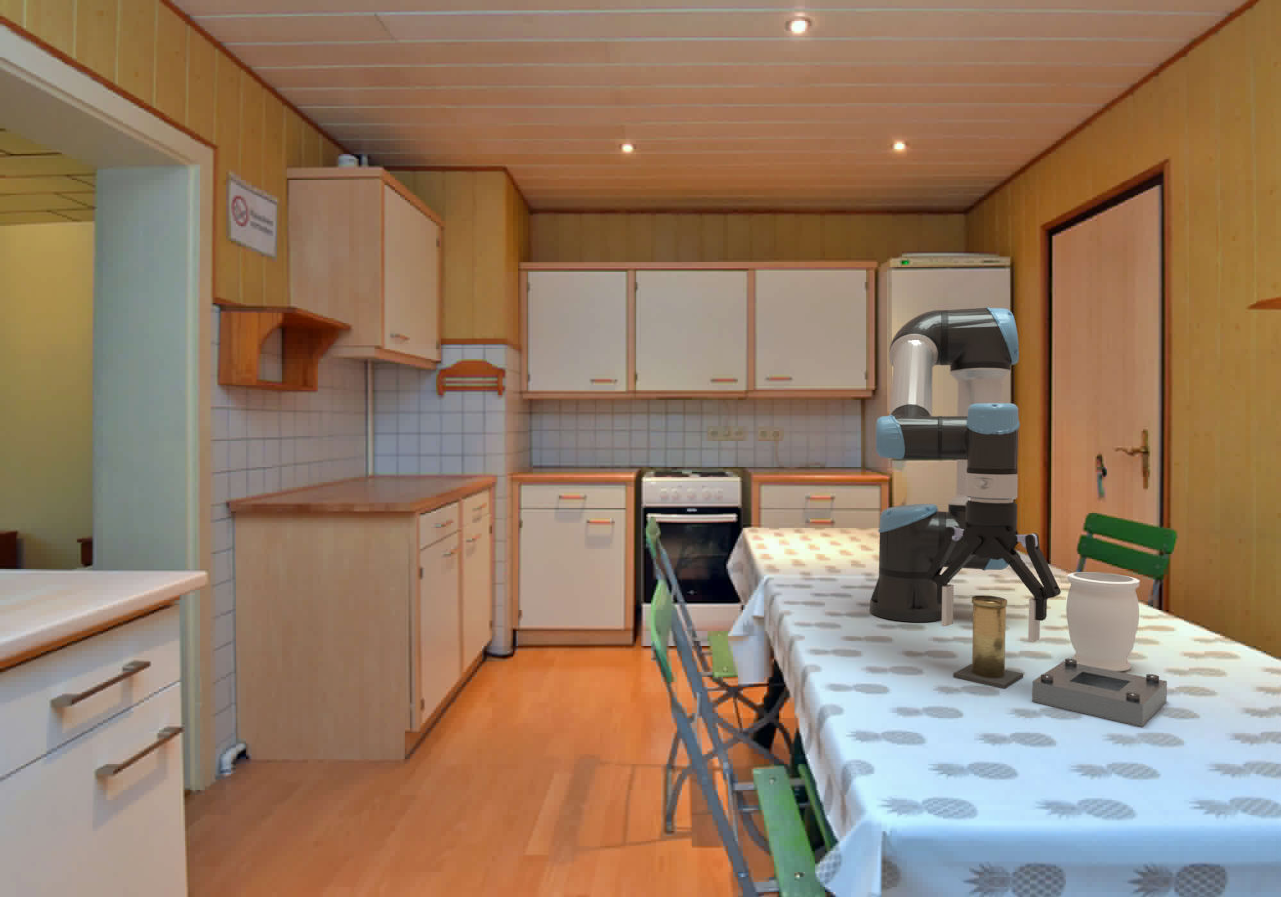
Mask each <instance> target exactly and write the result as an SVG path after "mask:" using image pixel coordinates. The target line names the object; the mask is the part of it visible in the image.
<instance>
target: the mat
mask: <svg viewBox="0 0 1281 897" xmlns="http://www.w3.org/2000/svg"><path fill="white" fill-rule="evenodd" d="M952 677H953V678H956V679H961V680H965V681H969V682H973V683H978V684H982V685H985V686H986V685H987V686H991V687H995V688H1001V689H1003V690H1004V689H1007V688H1009V686H1012V685H1013V684H1014V683H1017V682H1018V681H1020V679H1024V672H1020V671H1014V670H1008V669H1005V676H1004V677H1001V678H987V677H982V676H978V675H975V674H974V673H973V672H972V663H970V664H968V665H967V666H964V667H962V668H961V669H959V670H957V671H955V672H953V673H952Z"/></svg>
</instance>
